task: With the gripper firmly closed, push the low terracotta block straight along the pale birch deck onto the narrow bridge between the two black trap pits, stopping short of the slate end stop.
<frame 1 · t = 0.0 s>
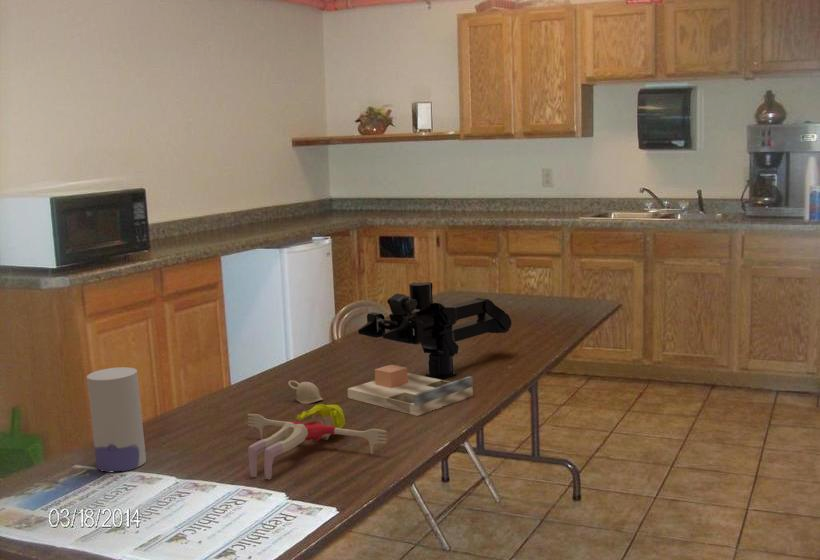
hand: (370, 334, 225), 17 cm above the table, tool horizontal, fingers open, 9 cm apart
beige domed piece: (306, 401, 228), on the table
container: (121, 465, 188), on the table
toy: (302, 455, 189), on the table
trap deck: (409, 397, 226), on the table
terracotta block: (391, 383, 231), point 2 cm above the table, touching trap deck
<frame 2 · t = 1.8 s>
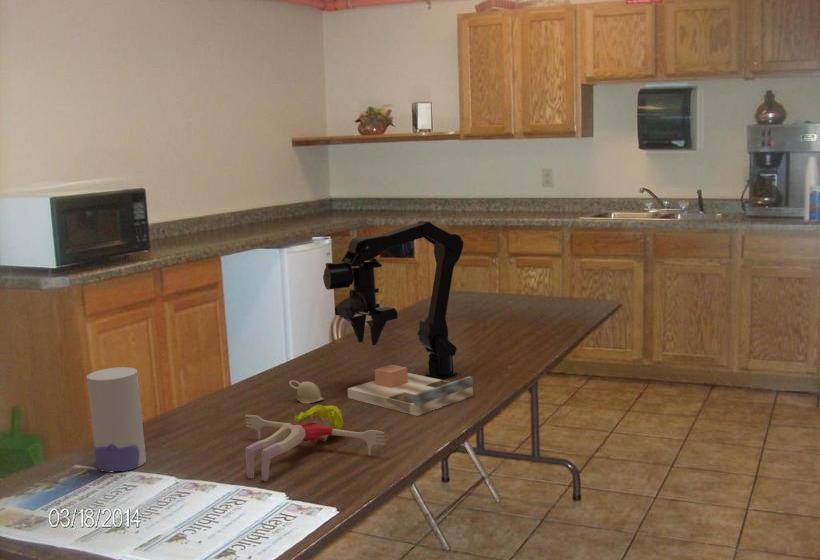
hand: (367, 343, 235), 12 cm above the table, tool pointing down, fingers open, 5 cm apart
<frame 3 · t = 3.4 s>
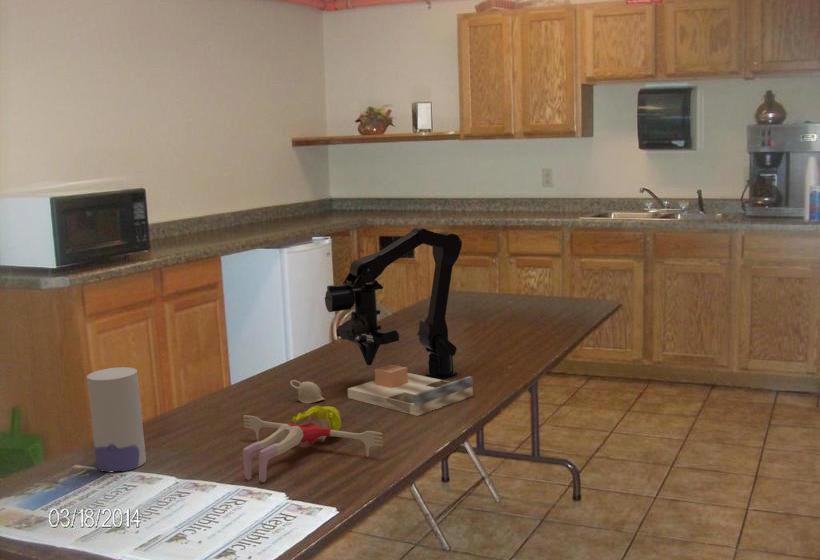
hand: (369, 365, 236), 6 cm above the table, tool pointing down, fingers closed
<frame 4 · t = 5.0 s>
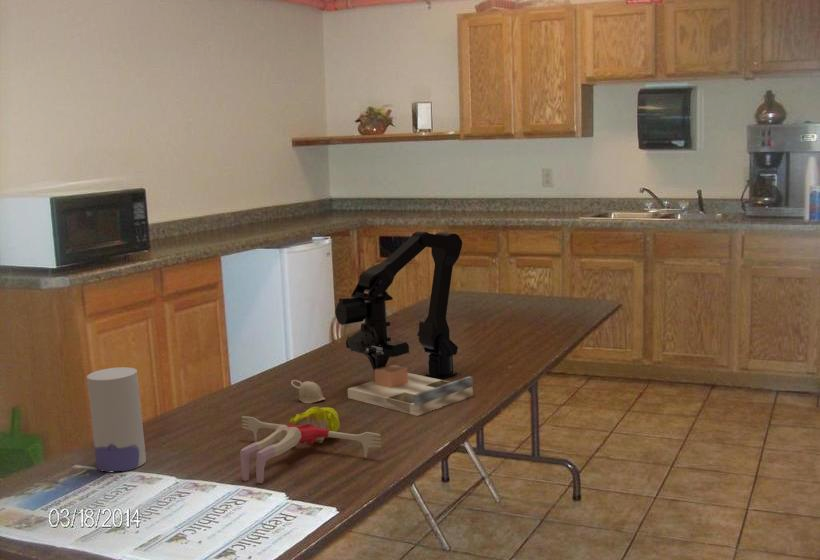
hand: (378, 377, 234), 3 cm above the table, tool pointing down, fingers closed
terracotta block: (391, 383, 231), point 3 cm above the table, touching gripper
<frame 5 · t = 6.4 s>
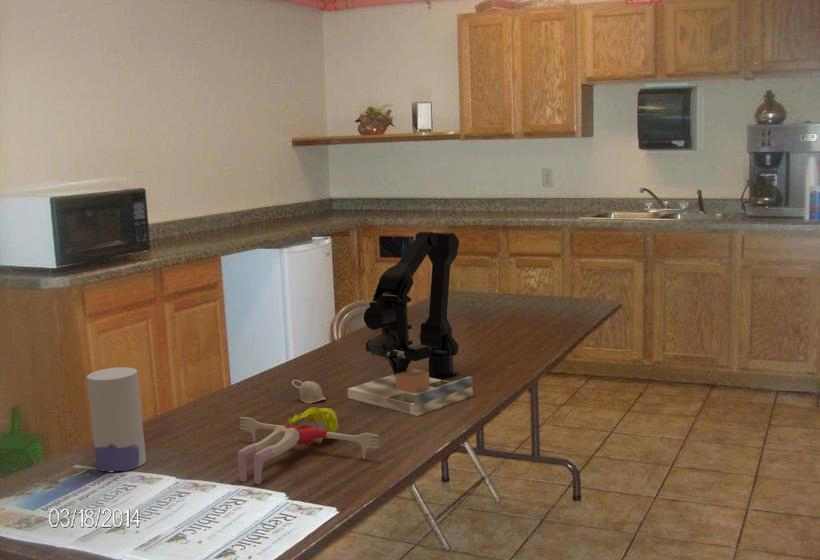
hand: (399, 381, 228), 4 cm above the table, tool pointing down, fingers closed
terracotta block: (413, 388, 225), point 3 cm above the table, touching gripper, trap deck
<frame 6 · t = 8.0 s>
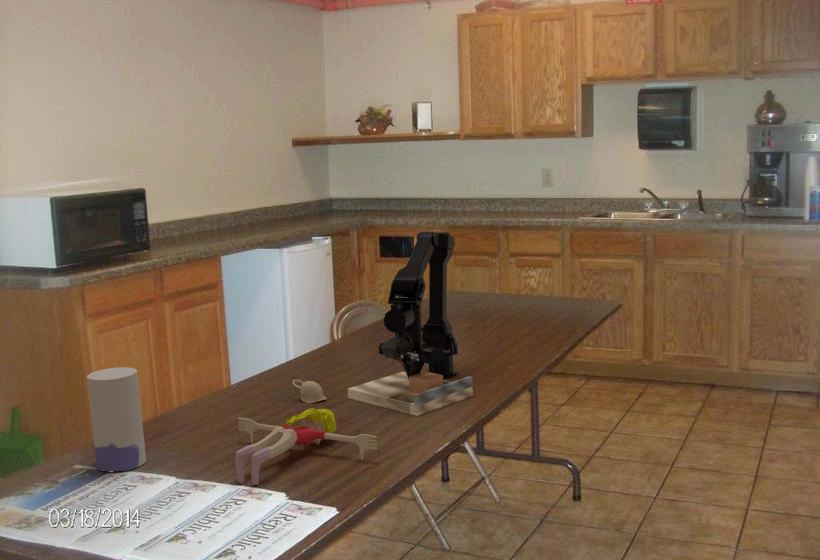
hand: (413, 384, 225), 4 cm above the table, tool pointing down, fingers closed
terracotta block: (426, 391, 222), point 2 cm above the table, touching gripper, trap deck
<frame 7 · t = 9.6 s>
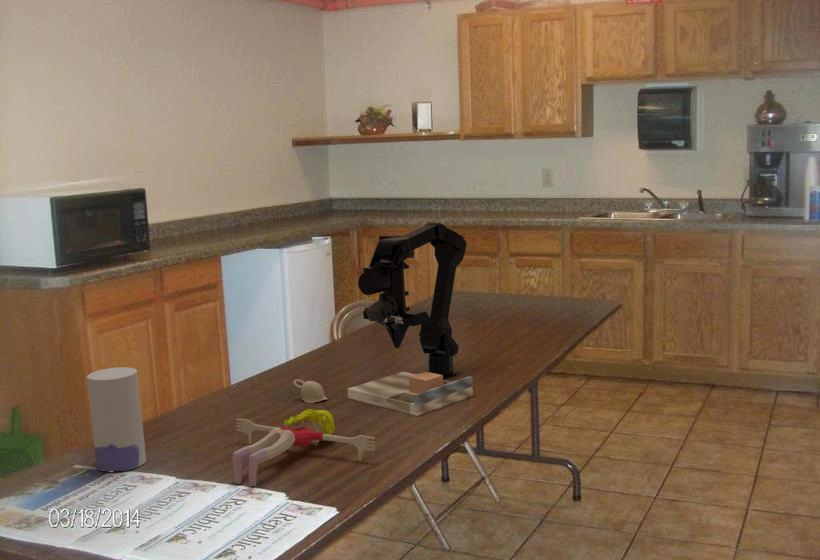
hand: (397, 347, 230), 12 cm above the table, tool pointing down, fingers closed
terracotta block: (426, 391, 222), point 2 cm above the table, touching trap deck
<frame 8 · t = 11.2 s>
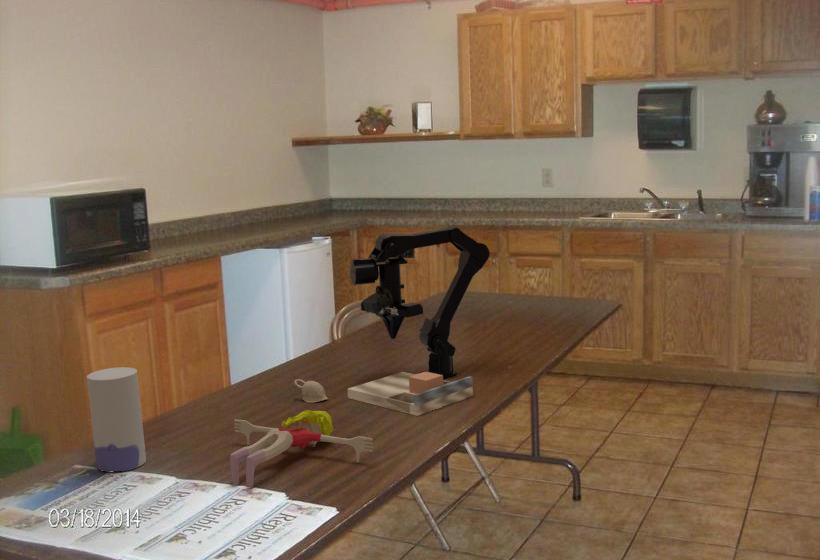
hand: (393, 338, 240), 12 cm above the table, tool pointing down, fingers closed
at the end: terracotta block inside the target area (0.9 cm from its centre), point 2.5 cm above the table; terracotta block tilted 0° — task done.
